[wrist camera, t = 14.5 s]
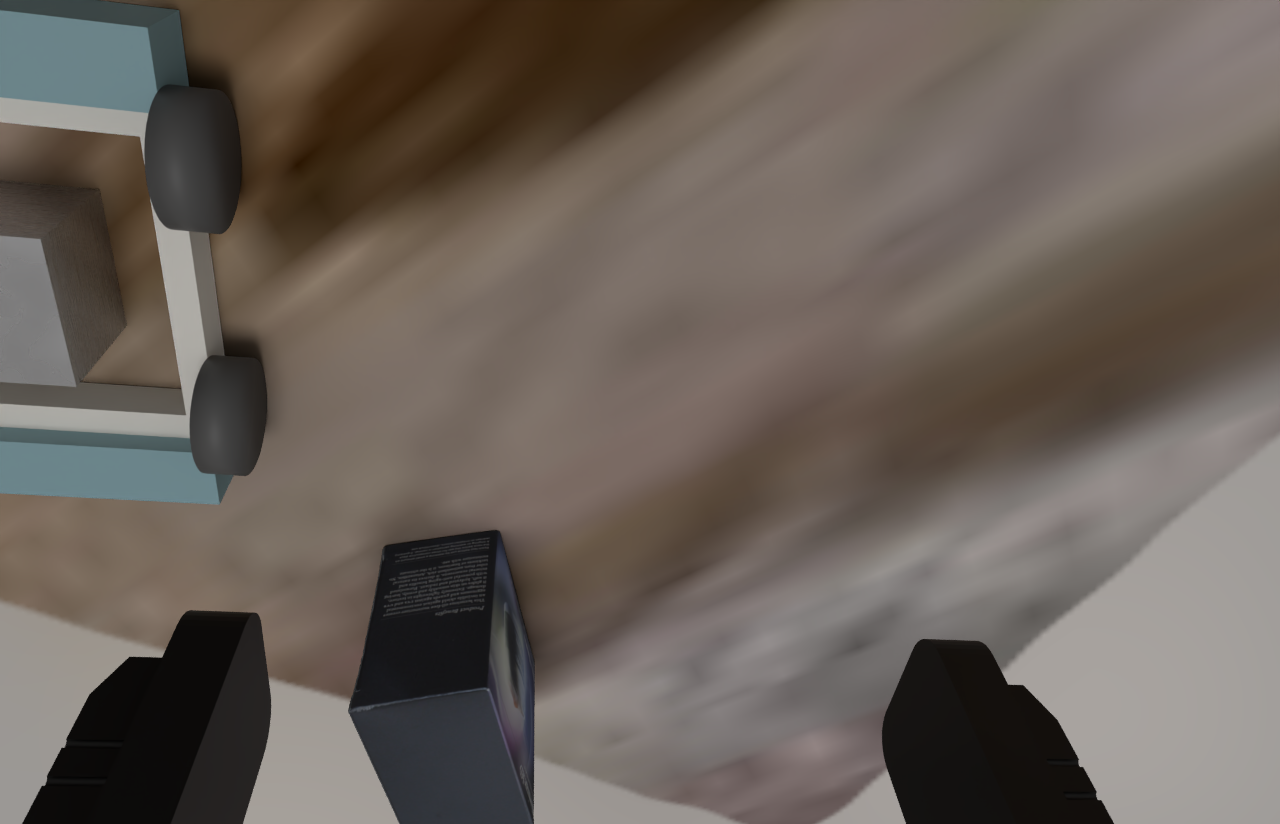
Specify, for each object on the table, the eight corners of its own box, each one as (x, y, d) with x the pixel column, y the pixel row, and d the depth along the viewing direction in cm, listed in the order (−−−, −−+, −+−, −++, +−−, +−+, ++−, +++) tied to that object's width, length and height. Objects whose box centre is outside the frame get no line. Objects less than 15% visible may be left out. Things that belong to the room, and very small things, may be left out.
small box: (543, 663, 52) (540, 835, 44) (430, 680, 52) (406, 854, 44) (505, 525, 46) (494, 692, 38) (379, 543, 46) (338, 714, 38)
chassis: (-269, -45, 30) (-400, -20, 26) (226, 15, 32) (178, 47, 28) (-88, 444, 41) (-160, 517, 37) (274, 465, 43) (244, 536, 39)
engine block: (-25, 176, 35) (-104, 227, 31) (100, 188, 35) (40, 239, 31) (13, 316, 38) (-54, 378, 34) (127, 324, 39) (76, 386, 35)
